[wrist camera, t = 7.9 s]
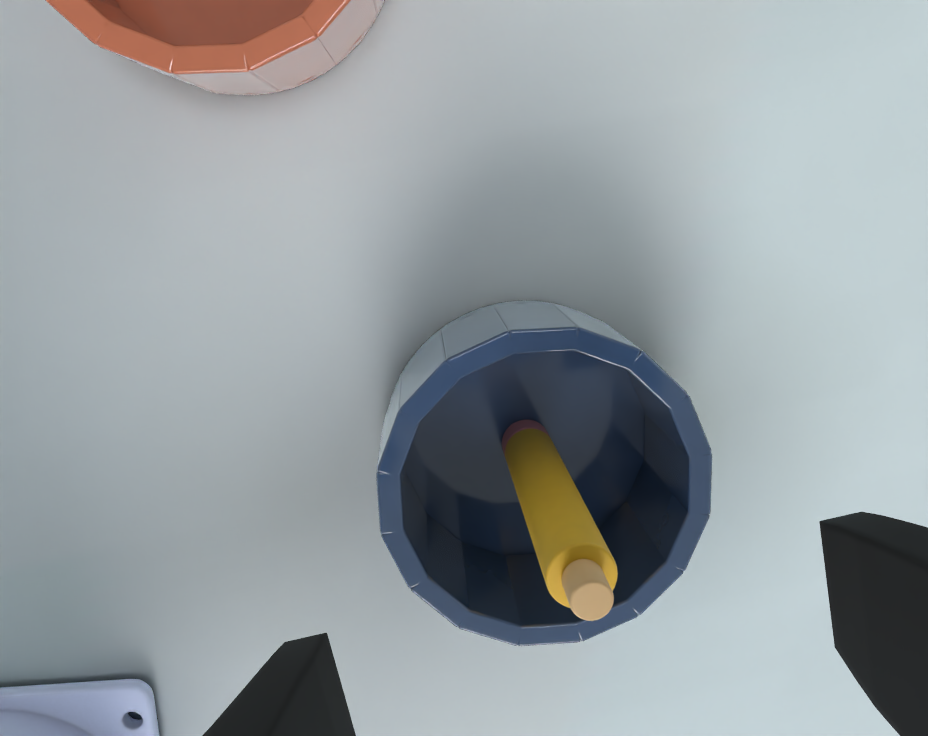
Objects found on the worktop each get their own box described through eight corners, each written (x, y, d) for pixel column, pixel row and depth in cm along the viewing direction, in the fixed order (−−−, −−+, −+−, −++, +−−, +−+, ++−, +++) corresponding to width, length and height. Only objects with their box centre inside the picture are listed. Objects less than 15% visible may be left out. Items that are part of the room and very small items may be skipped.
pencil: (549, 463, 21) (630, 634, 13) (502, 466, 21) (554, 639, 13) (548, 417, 20) (630, 563, 13) (500, 419, 20) (553, 568, 12)
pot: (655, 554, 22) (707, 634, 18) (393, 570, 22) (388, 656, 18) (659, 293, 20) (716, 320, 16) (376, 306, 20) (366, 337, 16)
